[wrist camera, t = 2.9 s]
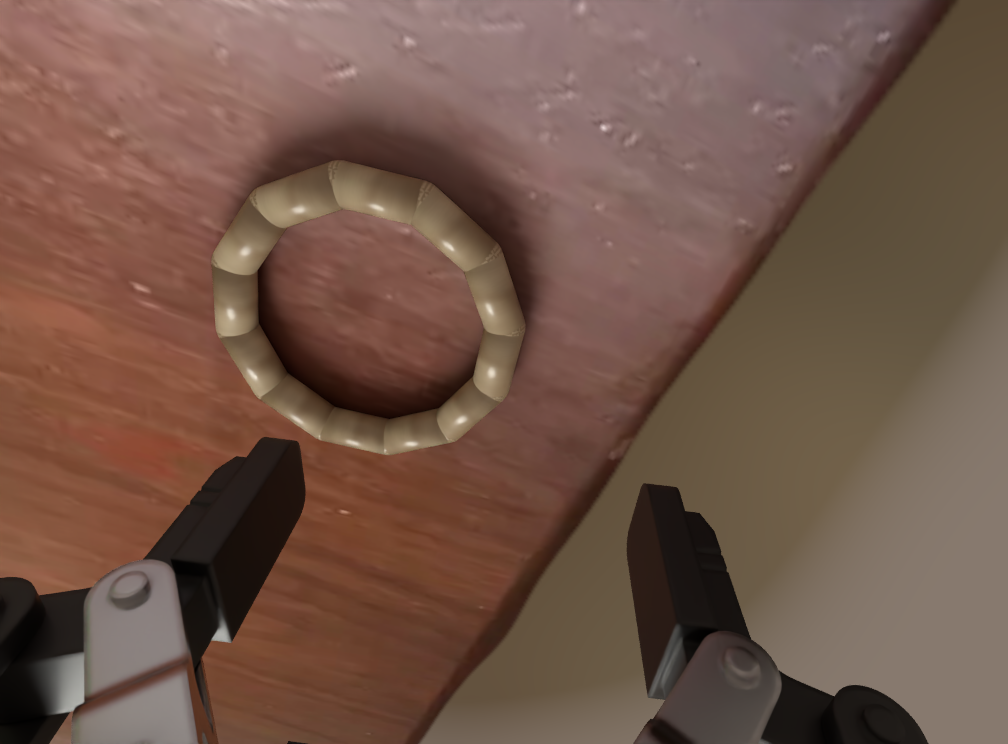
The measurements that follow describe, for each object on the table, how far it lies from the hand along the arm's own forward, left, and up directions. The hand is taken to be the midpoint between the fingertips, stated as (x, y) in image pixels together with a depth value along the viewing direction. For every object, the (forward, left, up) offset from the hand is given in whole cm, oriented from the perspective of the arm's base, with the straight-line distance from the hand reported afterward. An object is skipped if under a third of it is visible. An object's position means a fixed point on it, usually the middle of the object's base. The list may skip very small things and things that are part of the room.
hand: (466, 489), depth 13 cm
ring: (+4, -2, -8) cm, 9 cm away
